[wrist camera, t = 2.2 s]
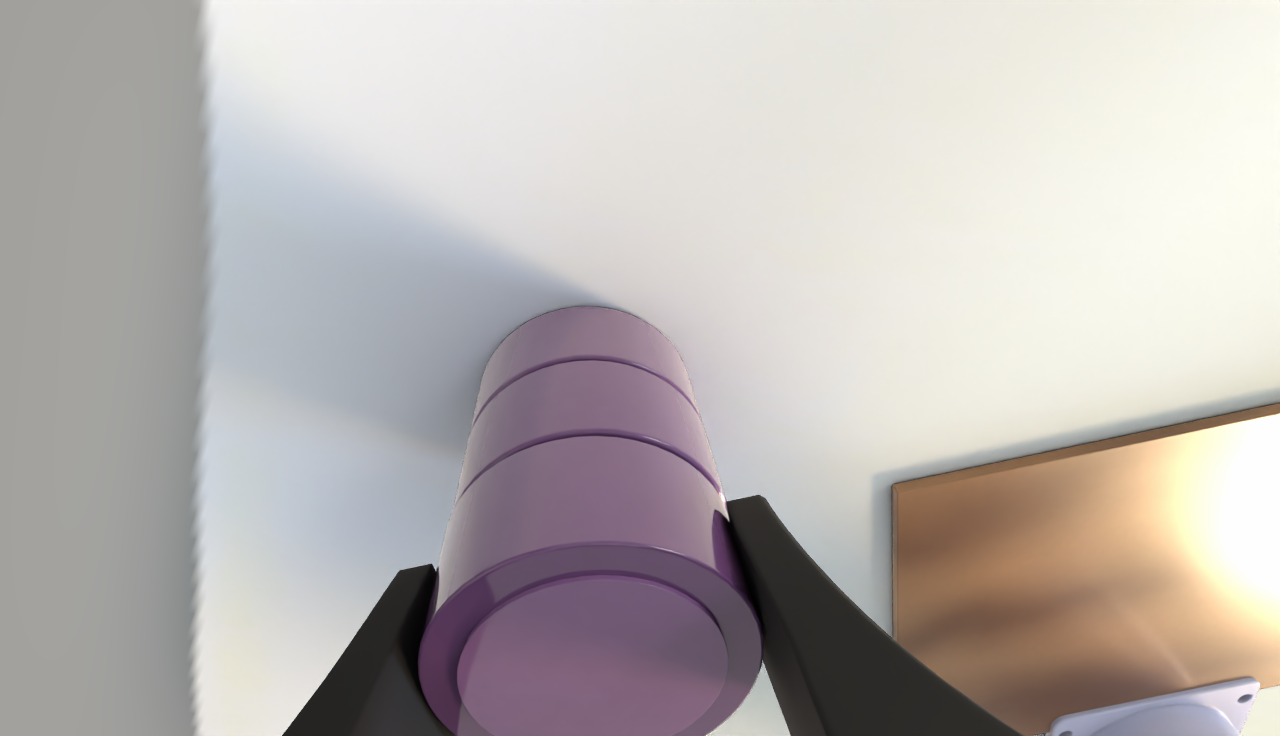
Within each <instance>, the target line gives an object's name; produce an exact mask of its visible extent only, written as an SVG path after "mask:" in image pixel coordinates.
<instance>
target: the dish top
mask: <svg viewBox="0 0 1280 736" xmlns="http://www.w3.org/2000/svg"><path fill="white" fill-rule="evenodd" d="M763 652H764V638H763V631H762V627H761V623H760V619H759V616H758V612H757V609H756V606H755V602H754V599H753V596H752V592H751V589H750V586H749V583H748V580H747V577H746V574H745V572H744V569H743V566H742V563H741V560H740V556H739V553H738V549H737V546H736V543H735V539H734V536H733V533H732V529H731V526H730V523H729V517H728V513H727V510H726V508H725V506H724V503H723V501H722V499H721V497H720V496H719V494H718V493H717V491H716V490H715V488H714V487H713V485H712V484H711V483H710V482H709V481H708V480H707V479H706V478H705V477H704V476H703V475H702V474H701V473H700V472H699V471H698V470H696V469H695V468H694V467H693V466H691V465H690V464H689V463H688V462H686V461H684V460H683V459H681V458H679V457H678V456H676V455H674V454H673V453H671V452H668V451H666V450H664V449H661V448H659V447H657V446H654V445H651V444H647V443H644V442H640V441H637V440H632V439H626V438H620V437H610V436H579V437H570V438H564V439H557V440H553V441H549V442H545V443H541V444H538V445H534V446H532V447H529V448H527V449H524V450H522V451H519V452H517V453H515V454H513V455H511V456H509V457H507V458H505V459H504V460H502V461H500V462H498V463H497V464H496V465H494V466H493V467H491V468H490V469H489V470H487V471H486V472H484V473H483V474H482V475H481V476H480V477H479V478H478V479H477V480H476V481H475V482H474V483H473V484H472V485H470V487H469V488H468V489H467V490H466V492H465V493H464V494H463V495H462V497H461V498H460V499H459V501H458V503H457V504H456V506H455V508H454V510H453V511H452V513H451V516H450V519H449V522H448V524H447V527H446V531H445V536H444V540H443V544H442V549H441V553H440V558H439V562H438V566H437V571H436V575H435V580H434V584H433V589H432V593H431V597H430V602H429V606H428V611H427V615H426V619H425V624H424V628H423V633H422V637H421V642H420V647H419V653H418V658H417V664H418V677H419V681H420V686H421V690H422V693H423V695H424V697H425V699H426V701H427V704H428V706H429V707H430V709H431V710H432V711H433V713H434V714H435V716H436V717H437V719H438V720H439V721H440V722H441V723H442V724H443V725H444V726H445V727H446V728H447V729H448V730H449V731H450V732H452V733H453V734H454V735H456V736H706V735H707V734H709V733H710V732H712V731H713V730H715V729H716V728H717V727H719V726H720V725H721V724H722V723H723V722H725V721H726V720H727V719H728V718H729V717H730V716H731V715H732V714H733V713H734V712H735V711H736V710H737V709H738V708H739V707H740V706H741V704H742V703H743V702H744V700H745V699H746V697H747V696H748V695H749V693H750V691H751V690H752V688H753V686H754V684H755V682H756V680H757V677H758V674H759V671H760V668H761V665H762V659H763Z"/></svg>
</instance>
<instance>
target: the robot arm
mask: <svg viewBox="0 0 1280 736" xmlns="http://www.w3.org/2000/svg"><path fill="white" fill-rule="evenodd" d="M726 506H727V512H728V517H729V523H730V526H731V529H732V533H733V536H734V539H735V543H736V546H737V549H738V553H739V556H740V560H741V563H742V566H743V569H744V572H745V574H746V577H747V580H748V583H749V586H750V589H751V592H752V596H753V599H754V602H755V606H756V609H757V612H758V616H759V619H760V623H761V627H762V631H763V638H764V652H763V662H764V665H765V667H766V670H767V673H768V675H769V678H770V681H771V683H772V686H773V689H774V691H775V694H776V697H777V699H778V702H779V705H780V707H781V710H782V713H783V715H784V718H785V721H786V723H787V726H788V729H789V731H790V734H791V736H1024V735H1023V734H1021V733H1019V732H1018V731H1016V730H1015V729H1013V728H1012V727H1010V726H1009V725H1007V724H1005V723H1004V722H1002V721H1001V720H1000V719H998V718H997V717H995V716H994V715H993V714H991V713H990V712H988V711H987V710H986V709H984V708H983V707H981V706H980V705H978V704H977V703H976V702H974V701H973V700H971V699H970V698H969V697H967V696H966V695H964V694H963V693H962V692H960V691H959V690H957V689H956V688H955V687H953V686H952V685H950V684H949V683H947V682H946V681H945V680H943V679H942V678H941V677H940V676H938V675H937V674H936V673H934V672H933V671H932V670H931V669H929V668H928V667H927V666H926V665H924V664H923V663H922V662H921V661H919V660H918V659H917V658H915V657H914V656H913V655H912V654H911V653H909V652H908V651H907V650H906V649H905V648H903V647H902V646H901V645H900V644H899V643H898V642H896V641H895V640H894V639H893V638H892V637H890V636H889V635H888V634H887V633H886V632H885V631H884V630H883V629H881V628H880V627H879V626H878V625H877V624H876V623H875V622H874V621H873V620H872V619H870V618H869V617H868V616H867V615H866V614H865V613H864V612H863V611H862V610H861V609H860V608H859V607H858V606H857V605H856V604H855V603H854V602H853V601H852V600H851V599H850V598H849V597H847V596H846V595H845V594H844V592H843V591H842V590H841V589H840V588H839V587H838V586H837V585H836V584H835V583H834V582H833V581H832V580H831V579H830V578H829V577H828V576H827V575H826V574H825V573H824V571H823V570H822V569H821V568H820V567H819V566H818V565H817V564H816V563H815V562H814V561H813V559H812V558H811V557H810V556H809V555H808V554H807V553H806V551H805V550H804V549H803V548H802V547H801V546H800V544H799V543H798V542H797V541H796V540H795V538H794V537H793V536H792V535H791V533H790V532H789V531H788V530H787V528H786V527H785V526H784V524H783V523H782V522H781V520H780V519H779V518H778V516H777V515H776V514H775V512H774V511H773V509H772V508H771V506H770V505H769V503H768V502H767V500H766V499H765V498H764V497H762V496H760V495H756V496H751V497H746V498H741V499H737V500H732V501H727V502H726ZM435 575H436V571H435V569H434V567H433V565H432V564H428V565H424V566H419V567H414V568H409V569H405V570H400V571H399V572H398V573H397V575H396V576H395V578H394V579H393V581H392V582H391V583H390V585H389V586H388V588H387V589H386V591H385V592H384V594H383V595H382V597H381V598H380V600H379V601H378V603H377V604H376V606H375V607H374V609H373V610H372V611H371V613H370V614H369V616H368V617H367V619H366V620H365V622H364V623H363V625H362V626H361V628H360V629H359V631H358V632H357V634H356V635H355V637H354V638H353V640H352V641H351V643H350V644H349V645H348V647H347V648H346V650H345V651H344V653H343V654H342V655H341V657H340V658H339V660H338V661H337V663H336V664H335V665H334V667H333V668H332V670H331V671H330V673H329V674H328V675H327V677H326V678H325V680H324V681H323V682H322V684H321V685H320V686H319V688H318V689H317V690H316V692H315V693H314V694H313V696H312V697H311V698H310V700H309V701H308V702H307V704H306V705H305V706H304V708H303V709H302V710H301V712H300V713H299V714H298V715H297V717H296V718H295V719H294V721H293V722H292V723H291V725H290V726H289V727H288V729H287V730H286V731H285V732H284V734H283V735H282V736H456V735H454V734H453V733H452V732H450V731H449V730H448V729H447V728H446V727H445V726H444V725H443V724H442V723H441V722H440V721H439V720H438V719H437V717H436V716H435V714H434V713H433V711H432V710H431V709H430V707H429V706H428V704H427V701H426V699H425V697H424V695H423V693H422V690H421V686H420V681H419V677H418V664H417V658H418V653H419V647H420V642H421V637H422V633H423V628H424V624H425V619H426V615H427V611H428V606H429V602H430V597H431V593H432V589H433V584H434V580H435ZM1259 689H1260V683H1259V682H1258V681H1257V680H1256V679H1255V678H1244V679H1239V680H1234V681H1229V682H1224V683H1219V684H1215V685H1210V686H1205V687H1200V688H1195V689H1190V690H1185V691H1180V692H1175V693H1170V694H1166V695H1161V696H1156V697H1151V698H1146V699H1141V700H1136V701H1131V702H1126V703H1122V704H1117V705H1112V706H1107V707H1102V708H1097V709H1092V710H1087V711H1082V712H1077V713H1073V714H1068V715H1064V716H1060V717H1058V718H1057V719H1055V720H1054V721H1053V722H1052V724H1051V726H1050V731H1049V732H1048V733H1046V736H1242V735H1241V734H1240V733H1241V730H1242V728H1243V726H1244V723H1245V721H1246V719H1247V716H1248V714H1249V712H1250V709H1251V707H1252V705H1253V703H1254V700H1255V698H1256V696H1257V693H1258V691H1259Z"/></svg>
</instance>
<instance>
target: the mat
mask: <svg viewBox="0 0 1280 736" xmlns="http://www.w3.org/2000/svg"><path fill="white" fill-rule="evenodd" d="M892 524H893V639H894V640H895V641H896V642H898V643H899V644H900V645H901V646H902V647H903V648H905V649H906V650H907V651H908V652H909V653H911V654H912V655H913V656H914V657H915V658H917V659H918V660H919V661H921V662H922V663H923V664H924V665H926V666H927V667H928V668H929V669H931V670H932V671H933V672H934V673H936V674H937V675H938V676H940V677H941V678H942V679H943V680H945V681H946V682H947V683H949V684H950V685H952V686H953V687H955V688H956V689H957V690H959V691H960V692H962V693H963V694H964V695H966V696H967V697H969V698H970V699H971V700H973V701H974V702H976V703H977V704H978V705H980V706H981V707H983V708H984V709H986V710H987V711H988V712H990V713H991V714H993V715H994V716H995V717H997V718H998V719H1000V720H1001V721H1002V722H1004V723H1005V724H1007V725H1009V726H1010V727H1012V728H1013V729H1015V730H1016V731H1018V732H1019V733H1021V734H1023V735H1024V736H1033V735H1038V734H1043V733H1048V732H1049V731H1050V726H1051V724H1052V722H1053V721H1054V720H1055V719H1057V718H1058V717H1060V716H1064V715H1068V714H1073V713H1077V712H1082V711H1087V710H1092V709H1097V708H1102V707H1107V706H1112V705H1117V704H1122V703H1126V702H1131V701H1136V700H1141V699H1146V698H1151V697H1156V696H1161V695H1166V694H1170V693H1175V692H1180V691H1185V690H1190V689H1195V688H1200V687H1205V686H1210V685H1215V684H1219V683H1224V682H1229V681H1234V680H1239V679H1244V678H1255V679H1256V680H1257V681H1258V682H1259V683H1260V689H1264V688H1269V687H1274V686H1278V685H1280V403H1278V404H1273V405H1268V406H1264V407H1259V408H1254V409H1249V410H1245V411H1240V412H1235V413H1230V414H1226V415H1221V416H1216V417H1211V418H1207V419H1202V420H1197V421H1192V422H1188V423H1183V424H1178V425H1173V426H1169V427H1164V428H1159V429H1154V430H1150V431H1145V432H1140V433H1135V434H1131V435H1126V436H1121V437H1116V438H1112V439H1107V440H1102V441H1097V442H1093V443H1088V444H1083V445H1078V446H1074V447H1069V448H1064V449H1059V450H1055V451H1050V452H1045V453H1040V454H1035V455H1031V456H1026V457H1021V458H1016V459H1012V460H1007V461H1002V462H997V463H993V464H988V465H983V466H978V467H974V468H969V469H964V470H959V471H955V472H950V473H945V474H940V475H936V476H931V477H926V478H921V479H917V480H912V481H907V482H902V483H898V484H893V485H892Z"/></svg>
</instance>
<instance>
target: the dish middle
mask: <svg viewBox="0 0 1280 736" xmlns="http://www.w3.org/2000/svg"><path fill="white" fill-rule="evenodd" d="M579 436H610V437H620V438H626V439H632V440H637V441H640V442H644V443H647V444H651V445H654V446H657V447H659V448H661V449H664V450H666V451H668V452H671V453H673V454H674V455H676V456H678V457H679V458H681V459H683V460H684V461H686V462H688V463H689V464H690V465H691V466H693V467H694V468H695V469H696V470H698V471H699V472H700V473H701V474H702V475H703V476H704V477H705V478H706V479H707V480H708V481H709V482H710V483H711V484H712V485H713V487H714V488H715V490H716V491H717V493H718V494H719V496H720V497H721V499H722V501H723V503H724V506H725V508H726V510H727V506H726V502H727V501H726V497H725V494H724V491H723V488H722V484H721V481H720V478H719V475H718V471H717V468H716V465H715V462H714V458H713V455H712V452H711V449H710V445H709V442H708V439H707V435H706V432H705V429H704V427H703V425H702V422H701V420H700V418H699V416H698V414H697V413H696V411H695V410H694V408H693V407H692V405H691V404H690V403H689V402H688V401H687V400H686V398H685V397H684V396H683V395H682V394H681V393H680V392H678V391H677V390H676V389H675V388H674V387H672V386H671V385H670V384H668V383H667V382H665V381H664V380H662V379H660V378H659V377H657V376H655V375H653V374H651V373H649V372H646V371H644V370H642V369H639V368H636V367H633V366H630V365H626V364H621V363H616V362H611V361H598V360H585V361H572V362H566V363H559V364H556V365H552V366H549V367H545V368H542V369H540V370H537V371H535V372H532V373H530V374H527V375H526V376H524V377H522V378H520V379H519V380H517V381H515V382H513V383H512V384H510V385H509V386H508V387H506V388H505V389H504V390H502V391H501V392H500V393H499V394H498V395H497V396H496V397H495V398H494V399H493V400H492V401H491V402H489V404H488V405H487V406H486V407H485V409H484V410H483V411H482V413H481V414H480V415H479V417H478V419H477V421H476V423H475V424H474V426H473V428H472V431H471V434H470V437H469V439H468V443H467V448H466V452H465V457H464V461H463V466H462V470H461V475H460V479H459V484H458V488H457V493H456V497H455V502H454V506H453V510H454V508H455V506H456V504H457V503H458V501H459V499H460V498H461V497H462V495H463V494H464V493H465V492H466V490H467V489H468V488H469V487H470V485H472V484H473V483H474V482H475V481H476V480H477V479H478V478H479V477H480V476H481V475H482V474H483V473H484V472H486V471H487V470H489V469H490V468H491V467H493V466H494V465H496V464H497V463H498V462H500V461H502V460H504V459H505V458H507V457H509V456H511V455H513V454H515V453H517V452H519V451H522V450H524V449H527V448H529V447H532V446H534V445H538V444H541V443H545V442H549V441H553V440H557V439H564V438H570V437H579ZM727 513H728V512H727Z"/></svg>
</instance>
